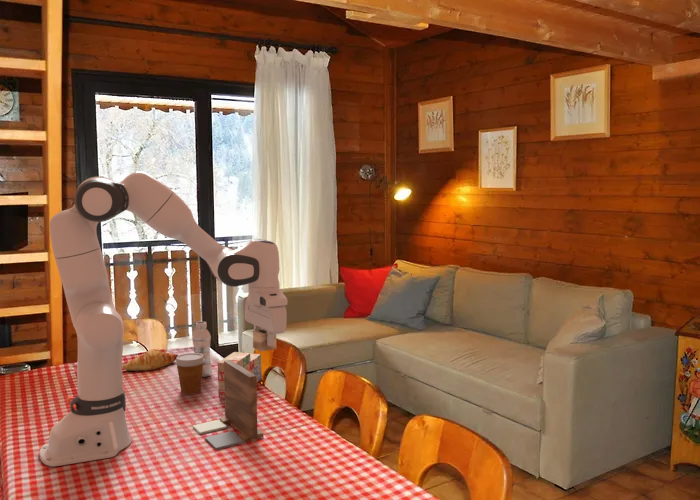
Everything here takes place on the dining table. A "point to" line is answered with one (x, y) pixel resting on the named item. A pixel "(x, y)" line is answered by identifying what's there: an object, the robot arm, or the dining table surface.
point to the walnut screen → (241, 401)
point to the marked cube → (262, 340)
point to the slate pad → (224, 440)
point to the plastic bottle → (203, 346)
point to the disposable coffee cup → (190, 372)
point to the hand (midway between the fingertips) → (264, 342)
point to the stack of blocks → (244, 360)
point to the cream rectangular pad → (209, 426)
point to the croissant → (150, 361)
